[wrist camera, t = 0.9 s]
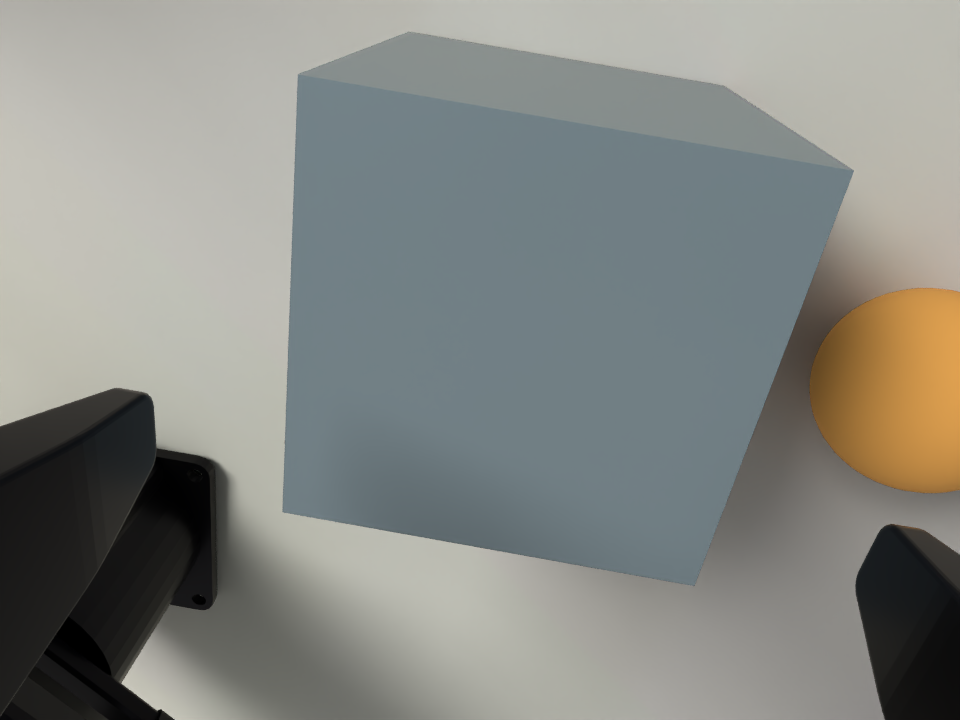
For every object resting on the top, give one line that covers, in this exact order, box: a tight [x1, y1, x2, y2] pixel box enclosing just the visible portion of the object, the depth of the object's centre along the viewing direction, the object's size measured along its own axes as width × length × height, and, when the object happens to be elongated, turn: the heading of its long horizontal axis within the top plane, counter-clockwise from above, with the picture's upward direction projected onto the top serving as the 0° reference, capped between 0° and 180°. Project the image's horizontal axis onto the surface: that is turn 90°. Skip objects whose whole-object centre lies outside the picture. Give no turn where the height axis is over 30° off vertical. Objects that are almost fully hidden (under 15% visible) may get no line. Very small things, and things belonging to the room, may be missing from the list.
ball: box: [809, 288, 960, 493], centre depth 18 cm, size 5×5×5 cm
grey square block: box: [283, 32, 854, 586], centre depth 16 cm, size 8×8×9 cm
